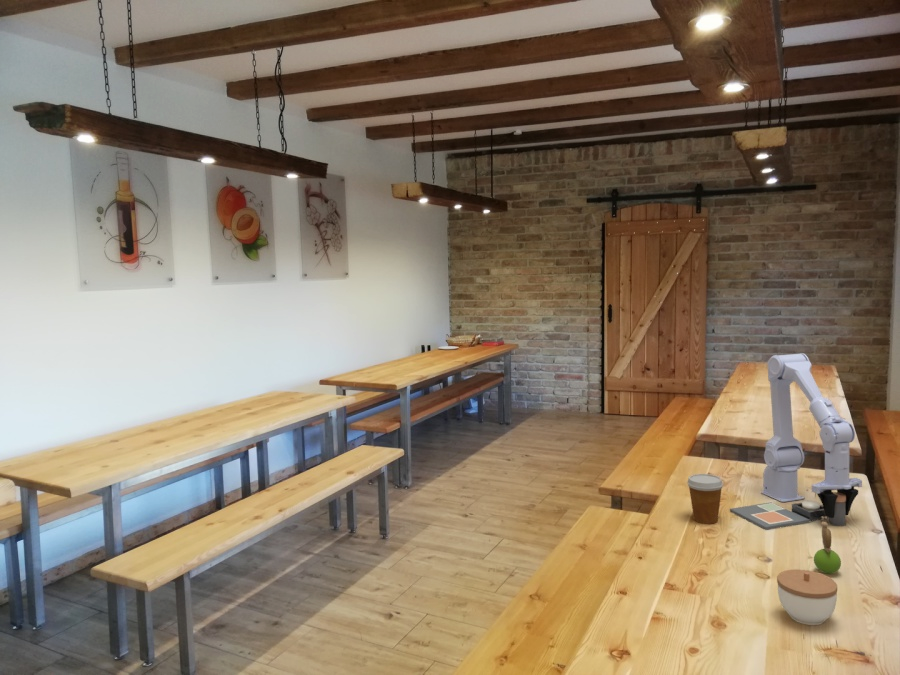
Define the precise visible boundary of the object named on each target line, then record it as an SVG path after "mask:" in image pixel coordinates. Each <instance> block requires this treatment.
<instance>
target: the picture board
mask: <svg viewBox="0 0 900 675" xmlns="http://www.w3.org/2000/svg"><path fill="white" fill-rule="evenodd" d="M729 512H730V513H732V514H734V515H736V516H738V517H740V518H742V519H744V520H745V519H746V520H745V521H747V522H749V523H752V524H753V525H755V526H757V527H758V528H759V527H760V528H762V529H763V530H765V531H769V530H774V529H780V527H781V528H786V526H787V527H792V525H793V526H798V525H803V524H809V523H811V521H810V520H809V519H807V518H805V517H803V516H800V515H798V514H796V513H794V512H792V510H789V509H787V508H785V507H783V506H780V505H778V504H776V503H774V502H771V501H769V502H763V503H759V504H752V505H746V506H745V505H744V506H738V507H733V508H729Z"/></svg>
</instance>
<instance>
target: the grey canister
mask: <svg viewBox="0 0 900 675" xmlns="http://www.w3.org/2000/svg"><path fill="white" fill-rule="evenodd" d="M832 492H833V494H836V495H838V497H837V499H836V502H835V509H834V517H833V518H830V517H828V519H827V520H828V522H827V524H828V525H831V526H835V527H844V526H846V522H847V521H846V519H847V518H846V516H847V515H846V495H845V494H843V493H839V492H835V491H832Z"/></svg>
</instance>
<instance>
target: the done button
mask: <svg viewBox="0 0 900 675" xmlns="http://www.w3.org/2000/svg"><path fill="white" fill-rule="evenodd" d="M801 503H802V508H805V509H807V510H809V511H813V510H819V509H820V505H821V504H820V503H821V502H819V501H815V500H803V501H801Z"/></svg>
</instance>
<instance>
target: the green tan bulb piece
mask: <svg viewBox="0 0 900 675" xmlns="http://www.w3.org/2000/svg"><path fill="white" fill-rule="evenodd" d="M821 518H822V520H821V521H822V522H821V538H822V545H823V548H821V549H819V550H817V551H816V552H815V554H814V556H813V563H814V565H815V567H816V568H817V569H818V570H819V571H821V572H822V573H825V574H828V575H829V574H835V573H836V572H838V571H839V570H840V569H841V565H842V560H841V557H840V556H839V554H838V553H837V552H835V551H834V550H832V549H831V547H832V533H831V532H832V531H831V530H830V529H829V528H828V526H829V523H828V522H827V521H824V520H828V519H827V517H825V519H824V517H823V516H822V517H821Z"/></svg>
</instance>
